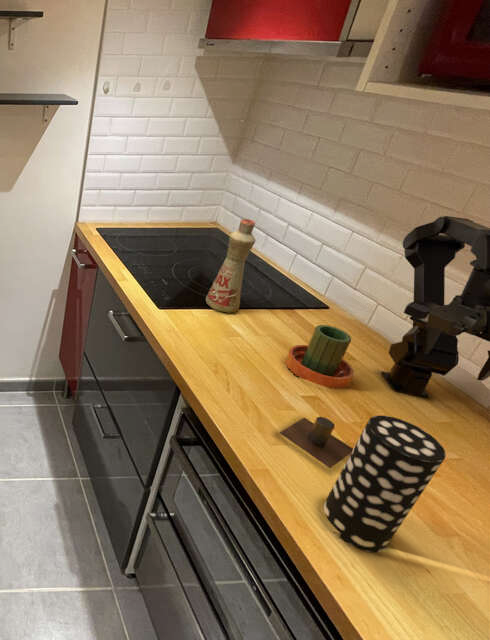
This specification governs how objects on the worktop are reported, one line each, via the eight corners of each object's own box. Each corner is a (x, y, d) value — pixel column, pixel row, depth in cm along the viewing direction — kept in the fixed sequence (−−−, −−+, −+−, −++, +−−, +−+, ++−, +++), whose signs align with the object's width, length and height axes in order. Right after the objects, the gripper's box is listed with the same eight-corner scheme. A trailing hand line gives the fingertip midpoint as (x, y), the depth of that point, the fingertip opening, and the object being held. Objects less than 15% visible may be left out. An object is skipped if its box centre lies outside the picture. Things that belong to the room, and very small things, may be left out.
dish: (278, 351, 114) (282, 340, 112) (335, 362, 110) (340, 351, 109) (294, 383, 103) (299, 371, 102) (357, 396, 100) (363, 384, 98)
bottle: (245, 314, 129) (275, 225, 117) (213, 314, 129) (240, 225, 118) (229, 298, 137) (255, 214, 125) (199, 298, 137) (223, 213, 125)
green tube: (299, 358, 111) (315, 321, 106) (332, 368, 107) (349, 331, 103) (300, 373, 106) (316, 335, 101) (334, 384, 102) (352, 345, 98)
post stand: (302, 420, 93) (312, 399, 91) (353, 453, 86) (365, 430, 83) (277, 436, 89) (287, 413, 87) (328, 471, 82) (340, 448, 80)
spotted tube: (399, 543, 70) (460, 454, 62) (362, 559, 68) (420, 468, 60) (344, 496, 78) (393, 410, 69) (309, 509, 75) (354, 421, 67)
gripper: (397, 276, 92) (370, 342, 97) (519, 319, 75) (479, 398, 79) (439, 276, 94) (411, 341, 99) (567, 318, 77) (525, 395, 81)
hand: (451, 366), depth 90 cm, fingers open, 9 cm apart
